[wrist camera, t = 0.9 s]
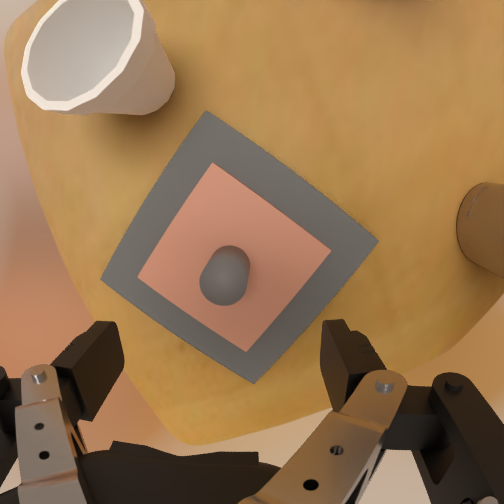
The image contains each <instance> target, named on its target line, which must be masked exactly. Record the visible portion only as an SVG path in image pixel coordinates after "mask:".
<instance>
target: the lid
mask: <svg viewBox="0 0 504 504" xmlns="http://www.w3.org/2000/svg"><path fill="white" fill-rule="evenodd" d="M330 252H331V250H330V248H329V247H327V246H326V245H325V244H323V243H322V242H321V241H320V240H318V239H317V238H316V237H314V236H313V235H312V234H310V233H309V232H308V231H307V230H305V229H304V228H303V227H301V226H300V225H299V224H297V223H296V222H295V221H293V220H292V219H291V218H289V217H288V216H287V215H285V214H284V213H283V212H281V211H280V210H279V209H277V208H276V207H275V206H273V205H272V204H271V203H269V202H268V201H267V200H265V199H264V198H263V197H261V196H260V195H258V194H257V193H256V192H254V191H253V190H252V189H250V188H249V187H247V186H246V185H245V184H243V183H242V182H241V181H239V180H238V179H236V178H235V177H234V176H232V175H231V174H229V173H228V172H227V171H225V170H224V169H222V168H221V167H219V166H218V165H217V164H215V163H212V164H211V165H210V167H209V168H208V169H207V171H206V172H205V174H204V175H203V176H202V178H201V179H200V181H199V182H198V184H197V185H196V187H195V188H194V189H193V191H192V192H191V194H190V195H189V197H188V198H187V200H186V201H185V203H184V204H183V206H182V207H181V209H180V210H179V212H178V213H177V215H176V216H175V218H174V219H173V221H172V222H171V224H170V225H169V227H168V228H167V230H166V232H165V233H164V235H163V236H162V238H161V239H160V241H159V243H158V244H157V246H156V247H155V249H154V251H153V252H152V254H151V255H150V257H149V259H148V260H147V262H146V263H145V265H144V267H143V268H142V270H141V272H140V273H139V275H138V277H137V278H139V279H140V280H141V281H143V282H144V283H146V284H147V285H148V286H150V287H151V288H152V289H154V290H155V291H156V292H158V293H159V294H161V295H162V296H163V297H165V298H166V299H168V300H169V301H170V302H172V303H173V304H175V305H176V306H177V307H179V308H180V309H182V310H183V311H185V312H186V313H188V314H189V315H190V316H192V317H193V318H195V319H196V320H198V321H199V322H201V323H202V324H204V325H205V326H207V327H208V328H210V329H211V330H213V331H214V332H216V333H217V334H219V335H220V336H222V337H223V338H225V339H226V340H228V341H229V342H231V343H233V344H234V345H236V346H237V347H239V348H240V349H242V350H244V351H245V352H247V351H248V349H249V348H250V347H251V346H252V345H253V344H254V343H255V342H256V340H257V339H258V338H259V337H260V336H261V335H262V334H263V332H264V331H265V330H266V329H267V328H268V327H269V326H270V324H271V323H272V322H273V321H274V320H275V319H276V317H277V316H278V315H279V314H280V313H281V312H282V310H283V309H284V308H285V307H286V306H287V304H288V303H289V302H290V301H291V300H292V299H293V297H294V296H295V295H296V294H297V293H298V291H299V290H300V289H301V288H302V287H303V285H304V284H305V283H306V282H307V280H308V279H309V278H310V277H311V276H312V274H313V273H314V272H315V271H316V269H317V268H318V267H319V266H320V264H321V263H322V262H323V261H324V260H325V258H326V257H327V256H328V255H329V253H330Z"/></svg>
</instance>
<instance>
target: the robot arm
mask: <svg viewBox="0 0 504 504" xmlns="http://www.w3.org/2000/svg"><path fill="white" fill-rule="evenodd" d="M457 235H458V241H459V244H460V247H461V249H462V251H463V253H464V254H465V256H466V257H467V258H468V259H469V260H471V261H472V262H474V263H476V264H478V265H480V266H482V267H483V268H485V269H487V270H489V271H491V272H492V273H494V274H496V275H498V276H500V277H502V278H503V279H504V185H503V184H495V183H481V184H479V185H477V186H475V187H474V188H473V189H472V190H470V192H469V193H468V194H467V195H466V197H465V199H464V200H463V202H462V204H461V207H460V210H459V214H458V220H457ZM320 367H321V372H322V376H323V379H324V382H325V385H326V389H327V392H328V395H329V398H330V402H331V405H332V408H333V410H332V411H331V412H329V413H328V415H327V416H326V417H325V418H324V420H323V421H322V422H321V423H320V424H319V426H318V427H317V428H316V429H315V431H314V432H313V433H312V434H311V435H310V436H309V438H308V439H307V440H306V441H305V442H304V444H303V445H302V446H301V447H300V448H299V449H298V451H297V452H296V453H295V454H294V455H293V456H292V457H291V458H290V459H289V461H288V462H287V463H286V464H285V465H284V466H283V467H282V468H280V467H277V466H274V465H271V464H267V463H261V462H259V457H258V452H214V453H207V454H200V455H191V456H176V455H173V454H170V453H166V452H163V451H160V450H157V449H154V448H151V447H148V446H145V445H138V444H130V443H125V442H119V441H113V443H112V445H111V447H110V449H109V450H102V451H95V452H91V453H88V450H87V448H86V445H85V442H84V439H83V436H82V433H81V430H80V428H79V425H78V423H77V422H78V421H79V419H81V420H86V421H91V422H92V421H93V419H94V418H95V416H96V414H97V412H98V411H99V409H100V407H101V405H102V404H103V402H104V400H105V399H106V397H107V395H108V394H109V392H110V390H111V389H112V387H113V385H114V383H115V382H116V380H117V379H118V377H119V375H120V374H121V372H122V370H123V368H124V354H123V349H122V345H121V341H120V336H119V332H118V328H117V325H116V323H115V322H112V321H96V322H95V323H94V324H93V325H92V326H91V327H90V328H89V329H88V330H87V331H86V332H84V333H83V334H81V335H79V336H77V337H76V338H75V339H74V340H73V341H72V342H71V343H70V345H68V346H67V347H66V348H65V350H63V351H62V353H61V354H60V355H59V356H58V357H57V358H56V359H55V360H54V361H53V362H52V363H51V364H50V365H47V364H41V365H37V366H33V367H31V368H29V369H28V370H26V371H25V372H24V373H23V374H22V377H21V378H12V379H11V378H8V376H7V373H6V371H5V369H4V368H3V367H1V366H0V487H1V485H2V483H3V481H4V480H5V478H6V476H7V475H8V473H9V471H10V469H11V468H12V466H13V464H14V463H15V461H16V459H17V458H18V459H19V467H20V475H21V484H20V485H19V486H17V487H16V488H13V489H11V490H8V491H6V492H4V493H2V494H0V504H358V503H359V501H360V499H361V497H362V495H363V493H364V491H365V489H366V488H367V485H368V484H369V482H370V481H371V479H372V477H373V475H374V473H375V472H376V470H377V468H378V466H379V464H380V462H381V460H382V458H383V457H384V455H385V453H386V451H387V449H390V450H391V449H392V450H411V451H412V453H413V456H414V459H415V461H416V464H417V467H418V469H419V472H420V474H421V477H422V480H423V482H424V485H425V488H426V490H427V493H428V496H429V499H430V502H431V504H504V424H503V423H502V421H501V420H500V419H499V417H498V416H497V415H496V413H495V412H494V411H493V409H492V408H491V406H490V405H489V404H488V403H487V401H486V400H485V399H484V397H483V396H482V395H481V393H480V392H479V391H478V389H477V388H476V387H475V386H474V384H473V383H472V382H471V381H470V380H469V379H468V378H467V377H465V376H463V375H461V374H458V373H452V372H448V373H442V374H440V375H438V376H436V377H435V379H434V381H433V383H432V387H425V386H409V385H407V381H406V379H405V378H404V377H403V376H402V375H400V374H399V373H396V372H394V371H389V370H387V369H386V367H385V366H384V364H383V362H382V361H381V359H380V357H379V356H378V354H377V353H376V352H375V349H374V348H373V346H371V343H370V341H369V340H368V338H367V337H366V336H365V335H363V334H362V333H360V332H358V331H350V330H349V328H348V326H347V325H346V323H345V321H344V320H343V319H338V320H324V321H323V325H322V337H321V351H320Z"/></svg>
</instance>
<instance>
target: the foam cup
mask: <svg viewBox="0 0 504 504" xmlns="http://www.w3.org/2000/svg"><path fill="white" fill-rule="evenodd" d="M155 29H156V24H155V22H154V20H153V18H152V16H151V14H150V12H149V10H148V8H147V7H146V5H145V3H144V2H143V1H142V0H59V1H58V2H57V3H56V4H55V5H54V6H53V7H52V8H51V9H50V10H49V11H48V12H47V13H46V14H45V15H44V16H43V17H42V18H41V19H40V21H39V22H38V24H37V26H36V28H35V30H34V31H33V33H32V35H31V37H30V39H29V41H28V43H27V45H26V47H25V52H24V58H23V64H22V70H21V75H22V79H23V83H24V87H25V91H26V94H27V97H29V98H30V99H31V100H32V101H33V102H35V103H36V104H37V105H38V106H39V107H40V108H42V109H43V110H47V111H52V112H57V113H61V114H74V115H89V114H91V113H113V114H131V115H146V114H149V113H152V112H155V111H157V110H158V109H159V108H161V107H162V106H163V105H164V104H165V103H166V102H168V100H169V98H170V96H171V94H172V92H173V91H174V89H175V72H174V70H173V68H172V66H171V63H170V61H169V59H168V57H167V55H166V53H165V50H164V48H163V46H162V44H161V42H160V40H159V37H158V35H157V33H156V31H155Z"/></svg>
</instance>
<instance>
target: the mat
mask: <svg viewBox="0 0 504 504" xmlns="http://www.w3.org/2000/svg"><path fill="white" fill-rule="evenodd" d="M212 163H215V164H217V165H218V166H219V167H221V168H222V169H224V170H225V171H227V172H228V173H229V174H231V175H232V176H234V177H235V178H236V179H238V180H239V181H241V182H242V183H243V184H245V185H246V186H247V187H249V188H250V189H252V190H253V191H254V192H256V193H257V194H258V195H260V196H261V197H263V198H264V199H265V200H267V201H268V202H269V203H271V204H272V205H273V206H275V207H276V208H277V209H279V210H280V211H281V212H283V213H284V214H285V215H287V216H288V217H289V218H291V219H292V220H293V221H295V222H296V223H297V224H299V225H300V226H301V227H303V228H304V229H305V230H307V231H308V232H309V233H310V234H312V235H313V236H314V237H316V238H317V239H318V240H320V241H321V242H322V243H323V244H325V245H326V246H327V247H329V248H330V250H331V252H330V253H329V255H328V256H327V257H326V258H325V260H324V261H323V262H322V263H321V264H320V266H319V267H318V268H317V269H316V271H315V272H314V273H313V274H312V276H311V277H310V278H309V279H308V280H307V282H306V283H305V284H304V285H303V287H302V288H301V289H300V290H299V291H298V293H297V294H296V295H295V296H294V297H293V299H292V300H291V301H290V302H289V303H288V304H287V306H286V307H285V308H284V309H283V310H282V312H281V313H280V314H279V315H278V316H277V317H276V319H275V320H274V321H273V322H272V323H271V324H270V326H269V327H268V328H267V329H266V330H265V331H264V332H263V334H262V335H261V336H260V337H259V338H258V339H257V340H256V342H255V343H254V344H253V345H252V346H251V347H250V348H249V349H248V351H247V352H245V351H244V350H242V349H240V348H239V347H237V346H236V345H234V344H233V343H231V342H229V341H228V340H226V339H225V338H223V337H222V336H220V335H219V334H217V333H216V332H214V331H213V330H211V329H210V328H208V327H207V326H205V325H204V324H202V323H201V322H199V321H198V320H196V319H195V318H193V317H192V316H190V315H189V314H188V313H186V312H185V311H183V310H182V309H180V308H179V307H177V306H176V305H175V304H173V303H172V302H170V301H169V300H168V299H166V298H165V297H163V296H162V295H161V294H159V293H158V292H156V291H155V290H154V289H152V288H151V287H150V286H148V285H147V284H146V283H144V282H143V281H141V280H140V279H139V278H137V277H138V275H139V273H140V272H141V270H142V268H143V267H144V265H145V263H146V262H147V260H148V259H149V257H150V255H151V254H152V252H153V251H154V249H155V247H156V246H157V244H158V243H159V241H160V239H161V238H162V236H163V235H164V233H165V232H166V230H167V228H168V227H169V225H170V224H171V222H172V221H173V219H174V218H175V216H176V215H177V213H178V212H179V210H180V209H181V207H182V206H183V204H184V203H185V201H186V200H187V198H188V197H189V195H190V194H191V192H192V191H193V189H194V188H195V187H196V185H197V184H198V182H199V181H200V179H201V178H202V176H203V175H204V174H205V172H206V171H207V169H208V168H209V167H210V165H211V164H212ZM378 242H379V241H378V240H377V239H376V238H375V237H374V236H373V235H371V234H370V233H369V232H368V231H367V230H366V229H364V228H363V227H362V226H361V225H360V224H359V223H357V222H356V221H355V220H354V219H353V218H351V217H350V216H349V215H348V214H347V213H345V212H344V211H343V210H342V209H340V208H339V207H338V206H337V205H336V204H334V203H333V202H332V201H331V200H329V199H328V198H327V197H326V196H324V195H323V194H322V193H321V192H319V191H318V190H317V189H315V188H314V187H313V186H312V185H310V184H309V183H308V182H306V181H305V180H304V179H303V178H301V177H300V176H299V175H297V174H296V173H295V172H293V171H292V170H291V169H289V168H288V167H287V166H285V165H284V164H283V163H281V162H280V161H279V160H277V159H276V158H274V157H273V156H272V155H270V154H269V153H268V152H266V151H265V150H263V149H262V148H261V147H259V146H258V145H256V144H255V143H254V142H252V141H251V140H249V139H248V138H246V137H245V136H244V135H242V134H241V133H239V132H238V131H236V130H235V129H233V128H232V127H230V126H229V125H228V124H226V123H225V122H223V121H222V120H220V119H219V118H217V117H216V116H214V115H213V114H211V113H210V112H208V111H205V112H204V114H203V115H202V116H201V118H200V119H199V120H198V122H197V123H196V124H195V126H194V127H193V129H192V130H191V131H190V133H189V134H188V136H187V137H186V138H185V140H184V141H183V143H182V144H181V146H180V147H179V149H178V150H177V151H176V153H175V154H174V156H173V157H172V159H171V160H170V162H169V163H168V165H167V166H166V168H165V169H164V171H163V172H162V174H161V175H160V177H159V179H158V180H157V182H156V183H155V185H154V186H153V188H152V190H151V191H150V193H149V194H148V196H147V198H146V199H145V201H144V202H143V204H142V206H141V207H140V209H139V211H138V212H137V214H136V216H135V217H134V219H133V221H132V222H131V224H130V226H129V228H128V229H127V231H126V233H125V235H124V236H123V238H122V240H121V242H120V243H119V245H118V247H117V249H116V251H115V252H114V254H113V256H112V258H111V260H110V262H109V264H108V265H107V267H106V269H105V271H104V273H103V275H102V277H101V279H100V280H102V281H103V282H104V283H105V284H107V285H108V286H109V287H110V288H112V289H113V290H114V291H116V292H117V293H118V294H120V295H121V296H122V297H123V298H125V299H126V300H127V301H129V302H130V303H131V304H133V305H134V306H136V307H137V308H138V309H140V310H141V311H142V312H144V313H145V314H146V315H148V316H149V317H151V318H152V319H153V320H155V321H156V322H158V323H159V324H161V325H162V326H163V327H165V328H166V329H168V330H169V331H171V332H172V333H174V334H175V335H176V336H178V337H179V338H181V339H182V340H184V341H185V342H187V343H188V344H190V345H191V346H193V347H195V348H196V349H198V350H199V351H201V352H202V353H204V354H205V355H207V356H208V357H210V358H212V359H213V360H215V361H216V362H218V363H220V364H221V365H223V366H224V367H226V368H228V369H229V370H231V371H233V372H234V373H236V374H238V375H239V376H241V377H243V378H244V379H246V380H248V381H250V382H251V383H253V384H254V383H255V382H256V381H257V380H258V379H259V378H260V377H261V376H262V375H263V374H264V373H265V372H266V371H267V370H268V369H269V368H270V367H271V366H272V365H273V364H274V363H275V362H276V361H277V360H278V359H279V358H280V357H281V355H282V354H283V353H284V352H285V351H286V350H287V349H288V348H289V347H290V346H291V345H292V344H293V343H294V341H295V340H296V339H297V338H298V337H299V336H300V335H301V334H302V333H303V332H304V330H305V329H306V328H307V327H308V326H309V325H310V324H311V323H312V322H313V320H314V319H315V318H316V317H317V316H318V315H319V314H320V312H321V311H322V310H323V309H324V308H325V307H326V305H327V304H328V303H329V302H330V301H331V300H332V298H333V297H334V296H335V295H336V294H337V293H338V291H339V290H340V289H341V288H342V287H343V285H344V284H345V283H346V282H347V281H348V279H349V278H350V277H351V276H352V274H353V273H354V272H355V271H356V270H357V268H358V267H359V266H360V265H361V263H362V262H363V261H364V260H365V258H366V257H367V256H368V254H369V253H370V252H371V251H372V249H373V248H374V247H375V246H376V244H377V243H378Z"/></svg>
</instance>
